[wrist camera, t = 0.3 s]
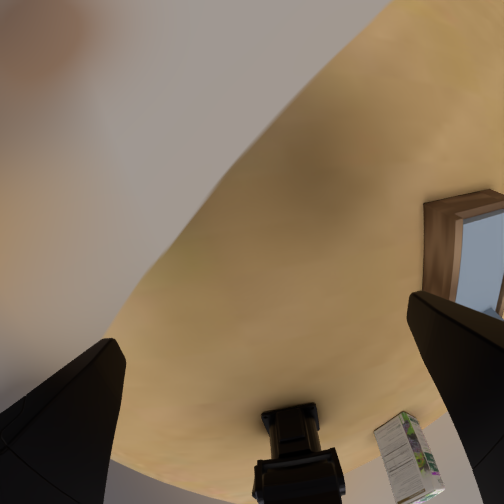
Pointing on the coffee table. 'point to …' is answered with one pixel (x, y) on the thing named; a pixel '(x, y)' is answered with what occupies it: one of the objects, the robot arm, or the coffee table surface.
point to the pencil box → (452, 240)
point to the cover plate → (482, 262)
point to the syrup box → (408, 460)
